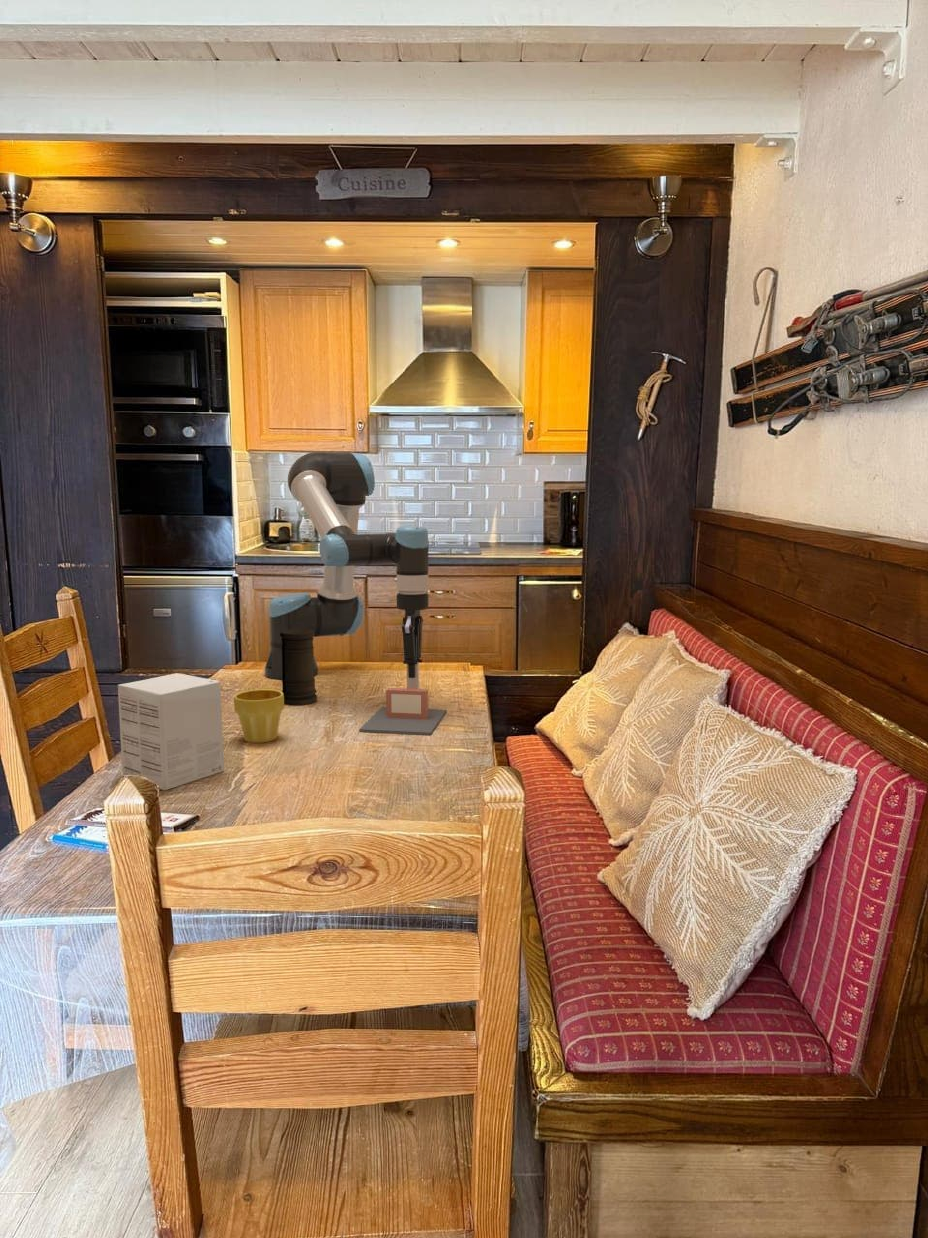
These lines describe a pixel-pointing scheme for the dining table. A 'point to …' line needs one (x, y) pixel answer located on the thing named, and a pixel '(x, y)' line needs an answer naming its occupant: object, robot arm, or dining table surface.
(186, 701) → the supplement box
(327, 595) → the robot arm
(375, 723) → the mat
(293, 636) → the container
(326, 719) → the dining table surface
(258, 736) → the plant pot
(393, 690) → the card box
